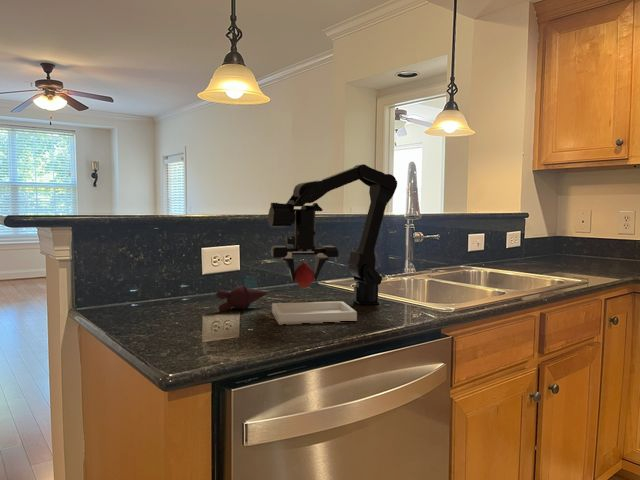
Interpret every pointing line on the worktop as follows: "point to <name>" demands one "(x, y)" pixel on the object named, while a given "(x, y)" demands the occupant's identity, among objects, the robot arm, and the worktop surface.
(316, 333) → the worktop surface
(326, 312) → the tray
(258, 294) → the dark red toy figure
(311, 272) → the onion
